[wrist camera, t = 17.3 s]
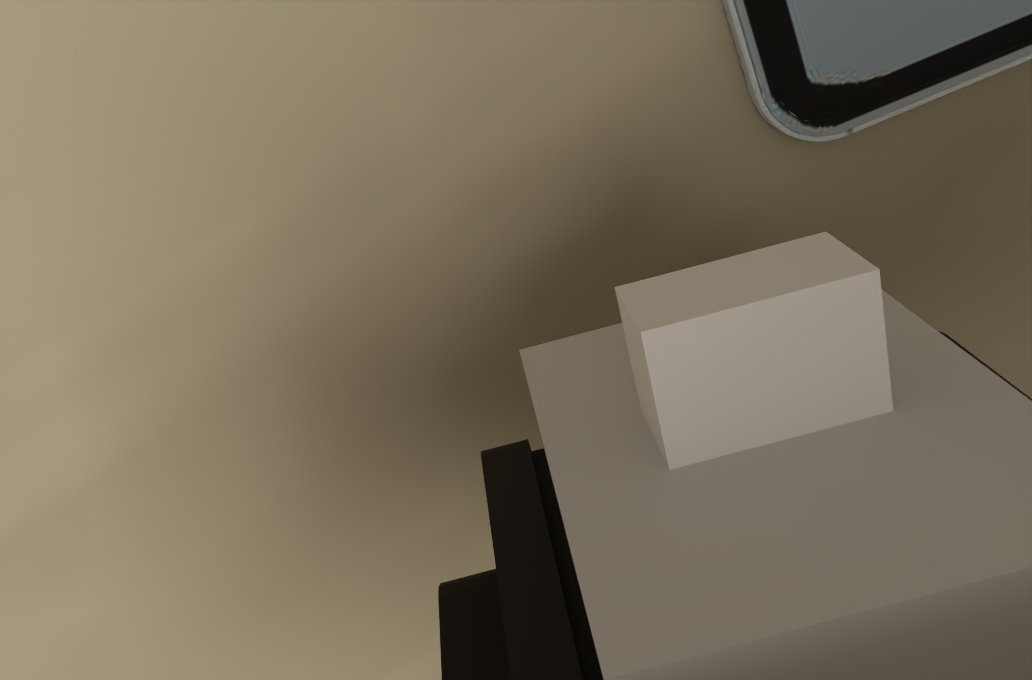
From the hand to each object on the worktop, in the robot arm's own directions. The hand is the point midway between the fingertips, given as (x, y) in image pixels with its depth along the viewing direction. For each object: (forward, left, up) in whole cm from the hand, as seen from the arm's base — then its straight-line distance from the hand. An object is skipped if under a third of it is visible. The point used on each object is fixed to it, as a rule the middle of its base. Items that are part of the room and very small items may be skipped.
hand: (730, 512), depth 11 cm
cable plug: (0, 0, -1) cm, 1 cm away
